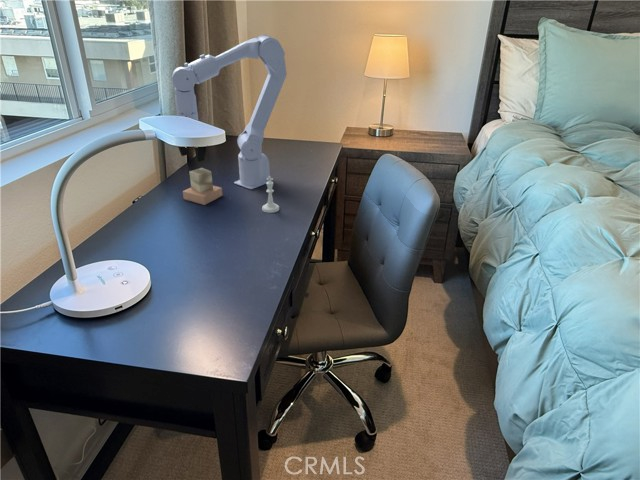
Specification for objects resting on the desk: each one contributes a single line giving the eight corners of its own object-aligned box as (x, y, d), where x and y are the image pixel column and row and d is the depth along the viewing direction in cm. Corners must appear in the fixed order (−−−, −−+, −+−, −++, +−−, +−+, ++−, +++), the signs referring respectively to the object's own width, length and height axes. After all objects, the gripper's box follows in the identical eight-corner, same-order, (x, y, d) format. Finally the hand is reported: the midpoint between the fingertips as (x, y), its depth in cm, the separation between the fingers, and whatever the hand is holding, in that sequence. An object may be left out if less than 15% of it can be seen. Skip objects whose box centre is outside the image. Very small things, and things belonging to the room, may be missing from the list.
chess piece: (276, 213, 125) (275, 180, 120) (259, 211, 126) (258, 178, 121) (281, 206, 129) (280, 173, 124) (265, 204, 130) (263, 172, 125)
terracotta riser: (202, 191, 138) (201, 182, 137) (222, 196, 135) (221, 187, 134) (183, 200, 132) (182, 191, 131) (204, 206, 129) (203, 196, 128)
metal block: (204, 184, 135) (202, 167, 133) (213, 188, 133) (211, 171, 130) (191, 188, 132) (189, 171, 130) (200, 193, 130) (198, 175, 127)
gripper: (160, 110, 129) (166, 155, 136) (191, 119, 121) (197, 166, 128) (180, 106, 134) (186, 150, 140) (212, 114, 126) (216, 160, 133)
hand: (192, 157), depth 134 cm, fingers open, 7 cm apart
